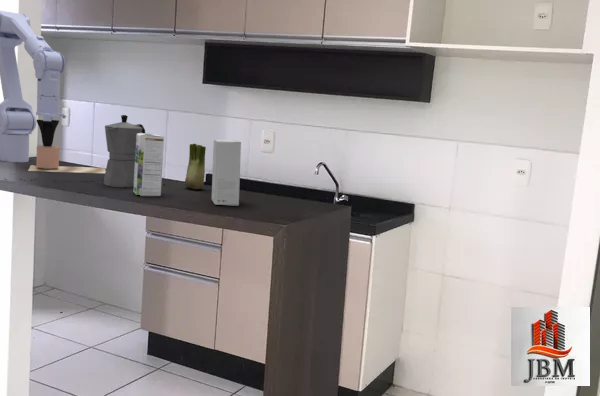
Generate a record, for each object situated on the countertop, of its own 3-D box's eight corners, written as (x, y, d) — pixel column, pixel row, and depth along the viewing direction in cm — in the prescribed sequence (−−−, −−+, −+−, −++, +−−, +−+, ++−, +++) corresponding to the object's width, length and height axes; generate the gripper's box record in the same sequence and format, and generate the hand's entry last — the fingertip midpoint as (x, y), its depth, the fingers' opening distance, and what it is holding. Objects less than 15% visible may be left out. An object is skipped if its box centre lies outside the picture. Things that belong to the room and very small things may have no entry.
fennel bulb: (205, 191, 162) (208, 145, 160) (187, 190, 160) (189, 144, 158) (200, 187, 167) (203, 143, 165) (182, 187, 165) (184, 142, 163)
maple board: (28, 174, 165) (28, 170, 165) (30, 168, 176) (30, 165, 176) (106, 176, 172) (106, 173, 172) (104, 171, 183) (104, 167, 183)
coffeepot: (121, 189, 153) (123, 116, 150) (89, 185, 156) (91, 113, 153) (156, 183, 167) (159, 116, 164) (127, 179, 170) (130, 113, 168)
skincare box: (239, 206, 143) (243, 142, 141) (212, 205, 142) (216, 140, 139) (234, 200, 151) (238, 139, 149) (209, 199, 150) (213, 137, 148)
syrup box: (132, 192, 150) (134, 132, 148) (157, 192, 153) (159, 133, 151) (136, 196, 145) (139, 134, 143) (162, 196, 148) (165, 135, 146)
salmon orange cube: (36, 167, 168) (36, 147, 167) (37, 165, 173) (37, 145, 173) (58, 168, 170) (58, 148, 169) (58, 165, 175) (59, 146, 175)
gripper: (64, 98, 164) (62, 149, 166) (64, 96, 177) (63, 144, 179) (34, 96, 161) (34, 148, 163) (37, 94, 174) (36, 143, 177)
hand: (47, 146), depth 171 cm, fingers closed
